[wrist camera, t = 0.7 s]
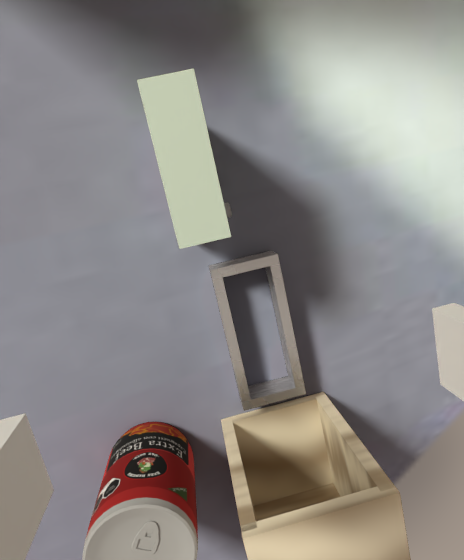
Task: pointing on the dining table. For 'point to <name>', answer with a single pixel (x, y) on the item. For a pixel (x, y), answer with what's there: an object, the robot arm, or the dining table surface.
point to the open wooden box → (310, 486)
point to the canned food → (146, 499)
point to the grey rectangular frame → (294, 380)
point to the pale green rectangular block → (185, 157)
